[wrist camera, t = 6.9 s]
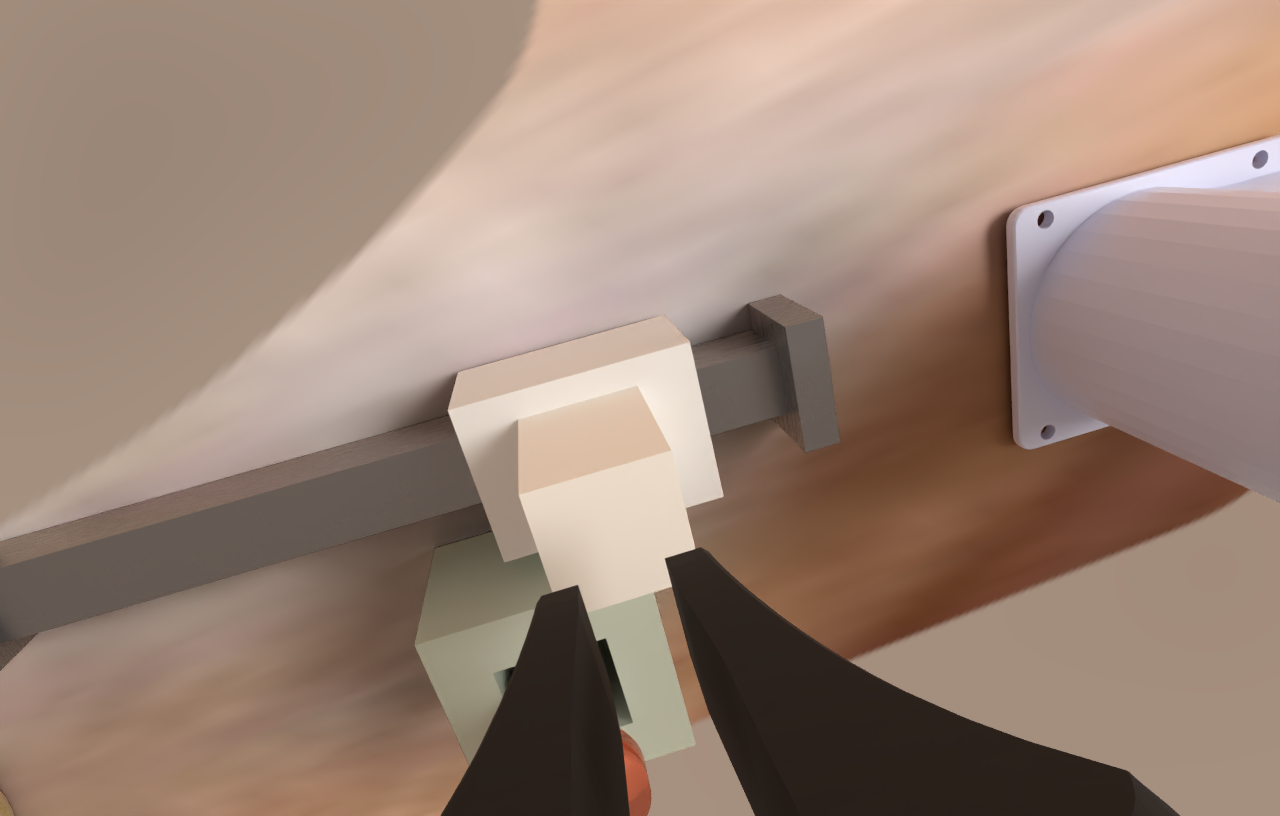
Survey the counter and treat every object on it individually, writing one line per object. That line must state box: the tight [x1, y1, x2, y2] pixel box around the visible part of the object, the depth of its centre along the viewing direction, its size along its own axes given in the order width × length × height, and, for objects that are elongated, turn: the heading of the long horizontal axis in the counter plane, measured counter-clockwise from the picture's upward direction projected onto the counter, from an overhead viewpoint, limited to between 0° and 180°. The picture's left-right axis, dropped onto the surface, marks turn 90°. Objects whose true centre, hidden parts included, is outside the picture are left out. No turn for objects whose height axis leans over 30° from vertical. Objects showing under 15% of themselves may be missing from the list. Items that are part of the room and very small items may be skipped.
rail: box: [0, 295, 840, 671], centre depth 19 cm, size 24×4×3 cm, turn 104°
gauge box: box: [414, 531, 696, 765], centre depth 20 cm, size 6×6×4 cm
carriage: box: [448, 315, 724, 613], centre depth 17 cm, size 6×4×7 cm
